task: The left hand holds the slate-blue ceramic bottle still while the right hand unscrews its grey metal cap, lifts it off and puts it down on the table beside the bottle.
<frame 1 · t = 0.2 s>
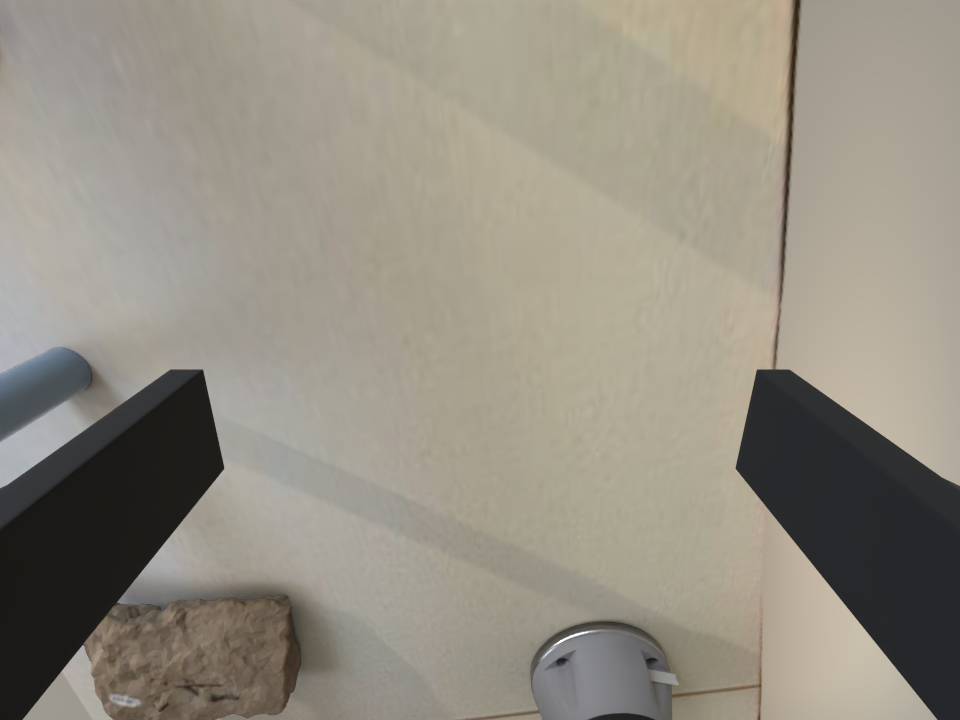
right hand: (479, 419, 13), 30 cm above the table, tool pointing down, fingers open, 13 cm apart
bottle: (66, 370, 45), on the table
stone: (207, 630, 57), on the table
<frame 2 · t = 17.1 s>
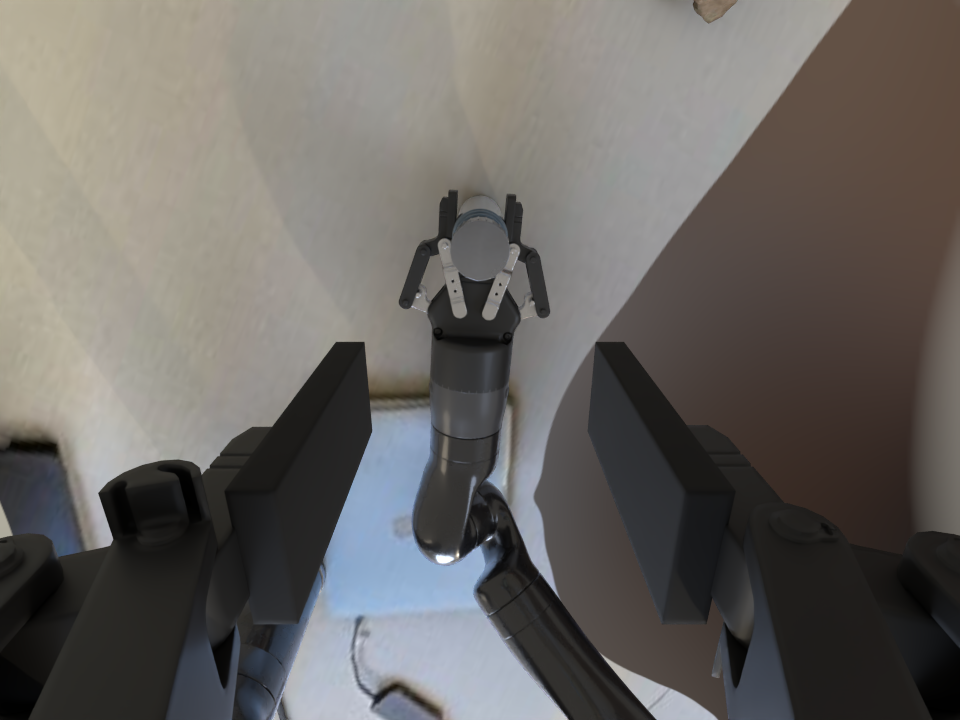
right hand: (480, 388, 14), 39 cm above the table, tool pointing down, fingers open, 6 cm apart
left hand: (482, 193, 43), fingers closed on bottle, 4 cm apart
bottle: (480, 218, 50), on the table, touching left hand
cap: (480, 250, 34), point 18 cm above the table, screwed on, not yet turned
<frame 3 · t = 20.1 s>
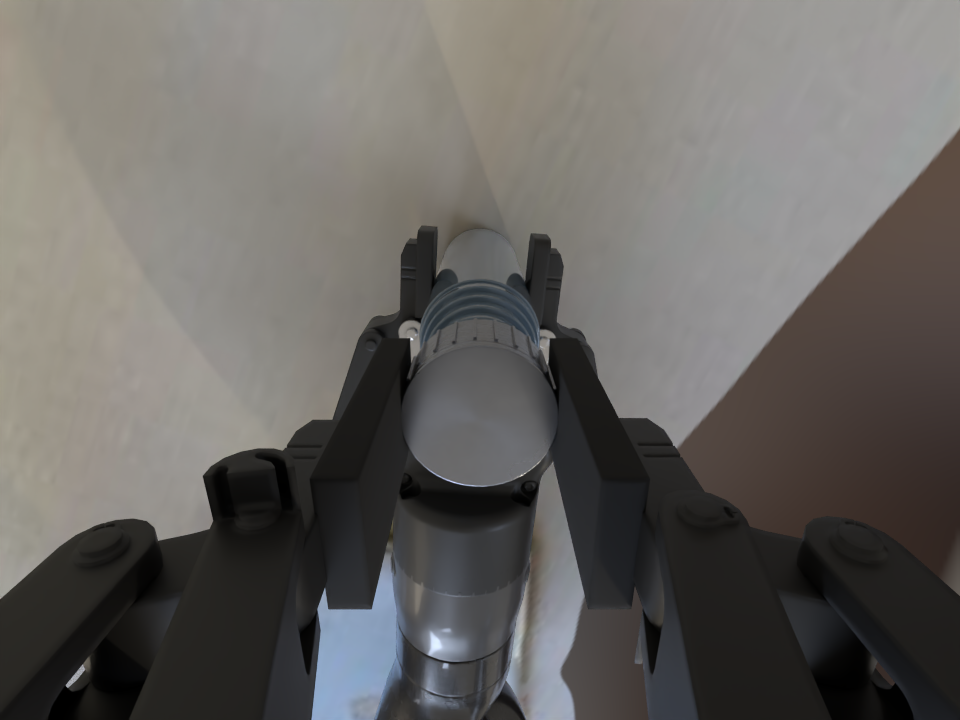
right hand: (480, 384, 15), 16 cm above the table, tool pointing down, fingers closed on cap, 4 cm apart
bottle: (479, 266, 29), on the table, touching left hand
cap: (479, 414, 13), point 18 cm above the table, screwed on, not yet turned, touching right hand
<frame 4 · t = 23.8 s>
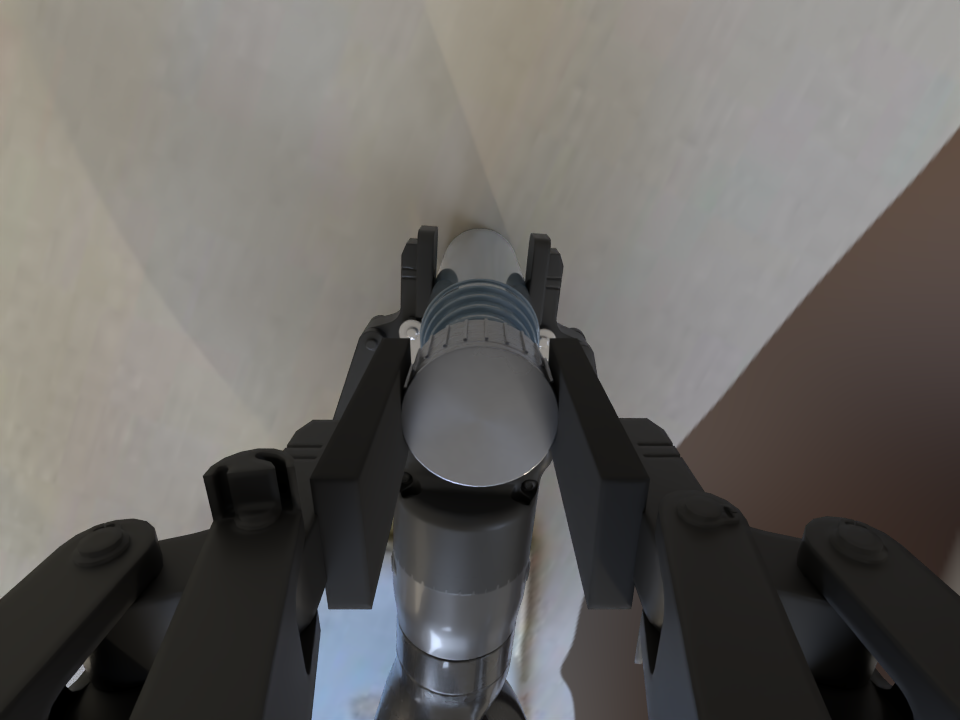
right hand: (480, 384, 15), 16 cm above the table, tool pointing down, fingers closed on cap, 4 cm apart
bottle: (479, 266, 29), on the table, touching left hand
cap: (479, 414, 13), point 18 cm above the table, turned 112° so far, risen 0.1 cm, still on its thread, touching right hand
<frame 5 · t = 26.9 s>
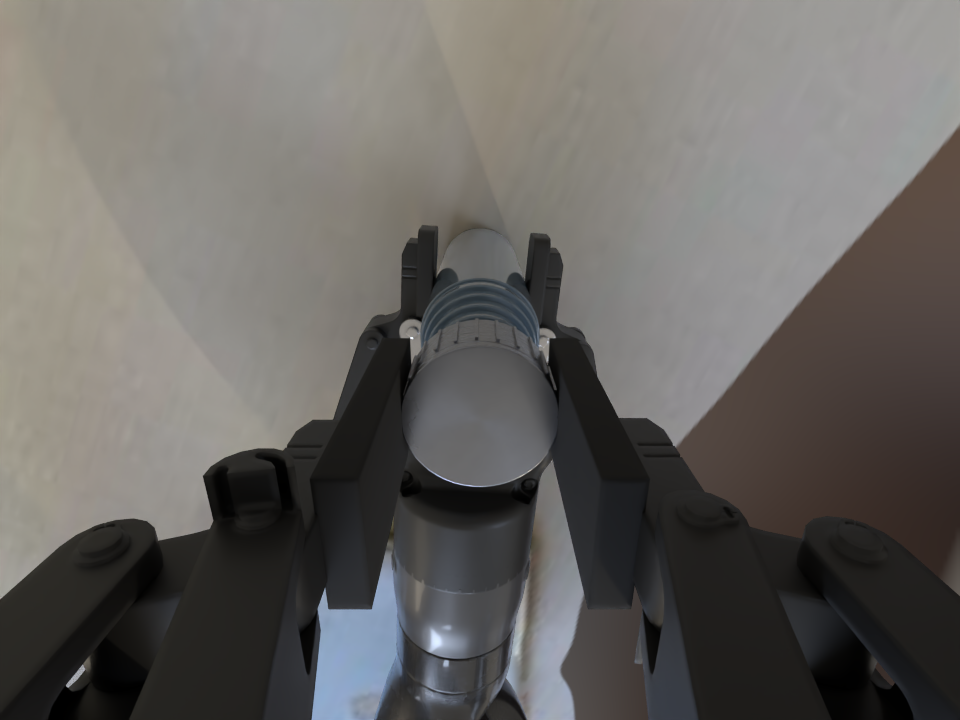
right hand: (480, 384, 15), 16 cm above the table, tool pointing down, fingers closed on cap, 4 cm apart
bottle: (479, 265, 29), on the table, touching left hand
cap: (480, 414, 13), point 18 cm above the table, turned 224° so far, risen 0.2 cm, still on its thread, touching right hand
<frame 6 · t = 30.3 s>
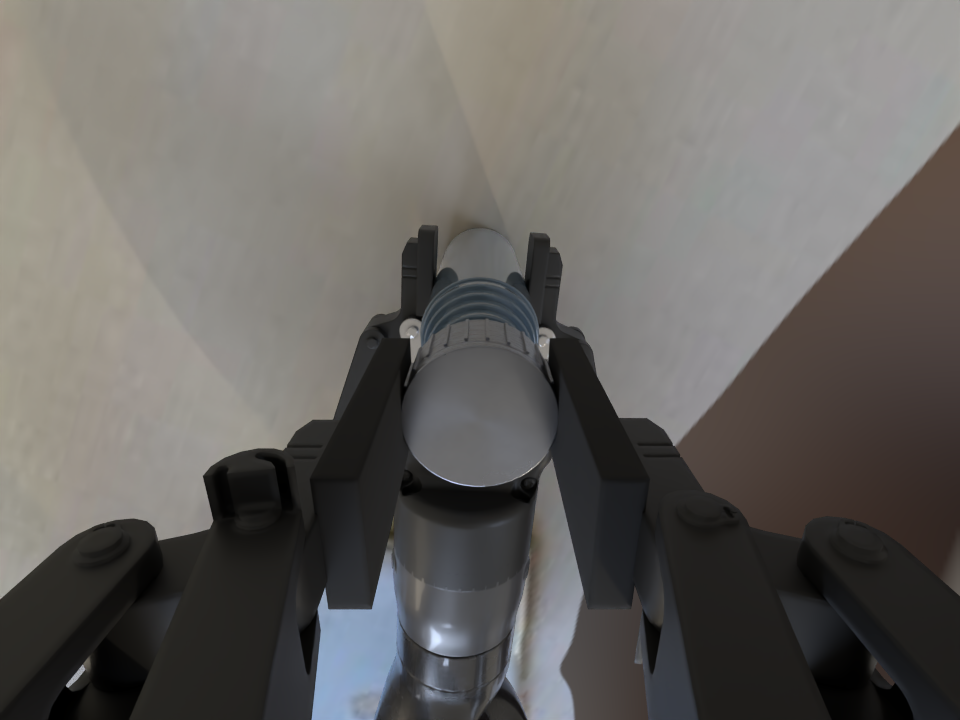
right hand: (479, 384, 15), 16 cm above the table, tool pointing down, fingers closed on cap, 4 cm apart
bottle: (479, 265, 30), on the table, touching left hand
cap: (479, 414, 13), point 18 cm above the table, turned 336° so far, risen 0.3 cm, still on its thread, touching right hand
when the right hand's fingers open (1 cm above the table, at t = 38.0 s): cap drops 1 cm, point 2 cm above the table.
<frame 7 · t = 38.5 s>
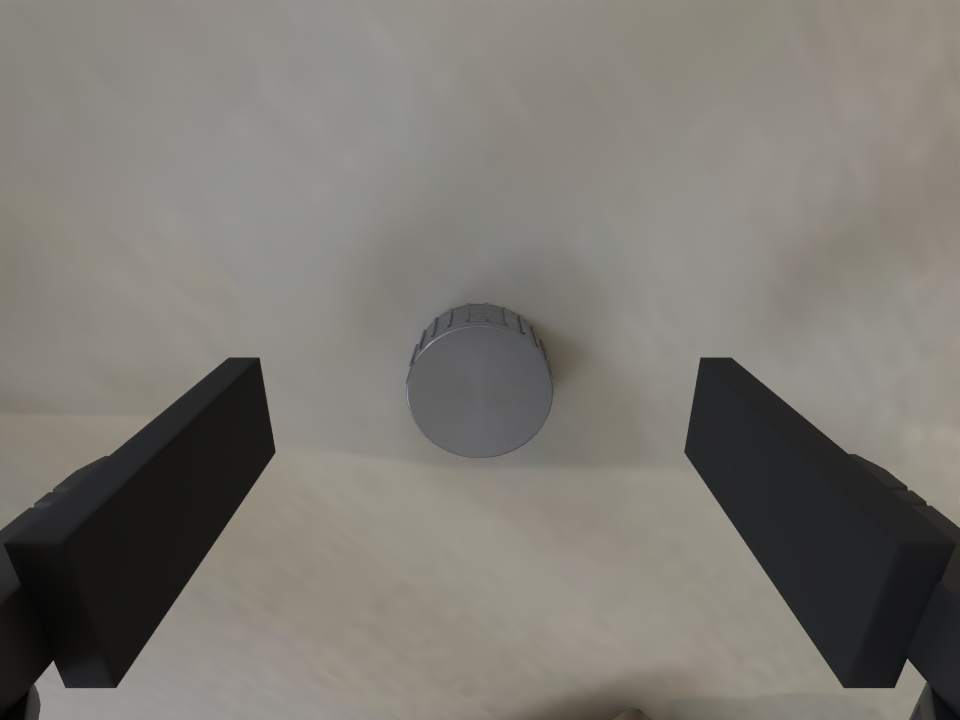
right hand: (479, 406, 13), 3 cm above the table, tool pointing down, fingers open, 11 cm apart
cap: (479, 390, 14), point 2 cm above the table, off its thread
when the left hand's fingers open (6 cm above the table, at t = 39.3 s): bottle stays where it is, on the table.
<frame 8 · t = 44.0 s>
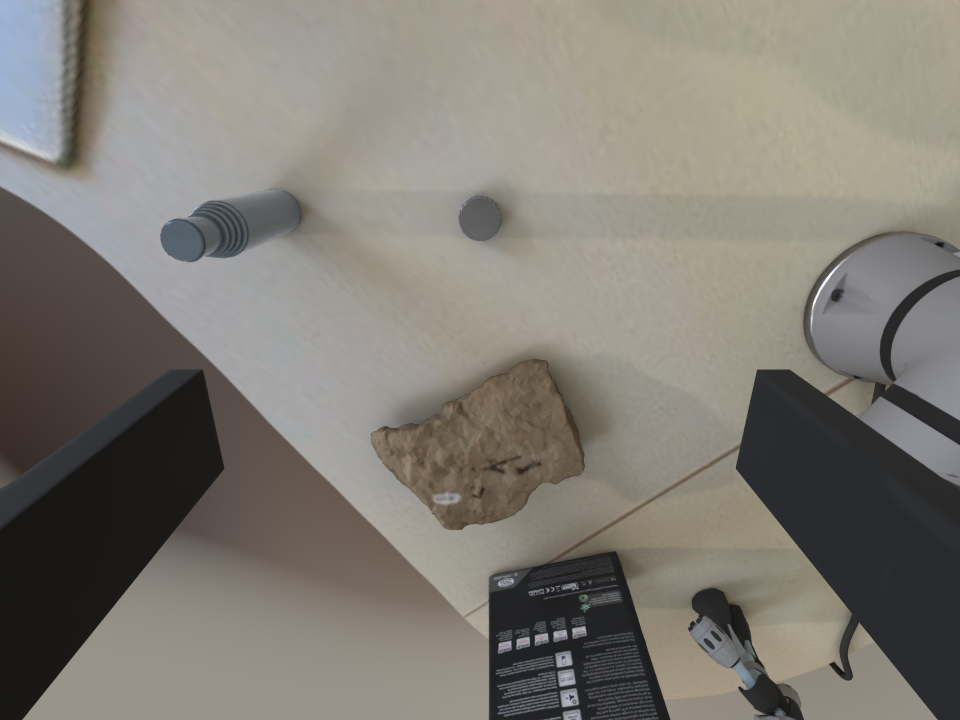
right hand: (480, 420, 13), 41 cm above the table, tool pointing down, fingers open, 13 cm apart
bottle: (279, 211, 50), on the table
robot: (717, 606, 69), on the table
stone: (483, 434, 59), on the table
cap: (479, 219, 49), point 2 cm above the table, off its thread
graphics card box: (553, 577, 67), on the table
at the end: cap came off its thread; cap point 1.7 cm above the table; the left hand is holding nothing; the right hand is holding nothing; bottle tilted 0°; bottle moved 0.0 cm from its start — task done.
